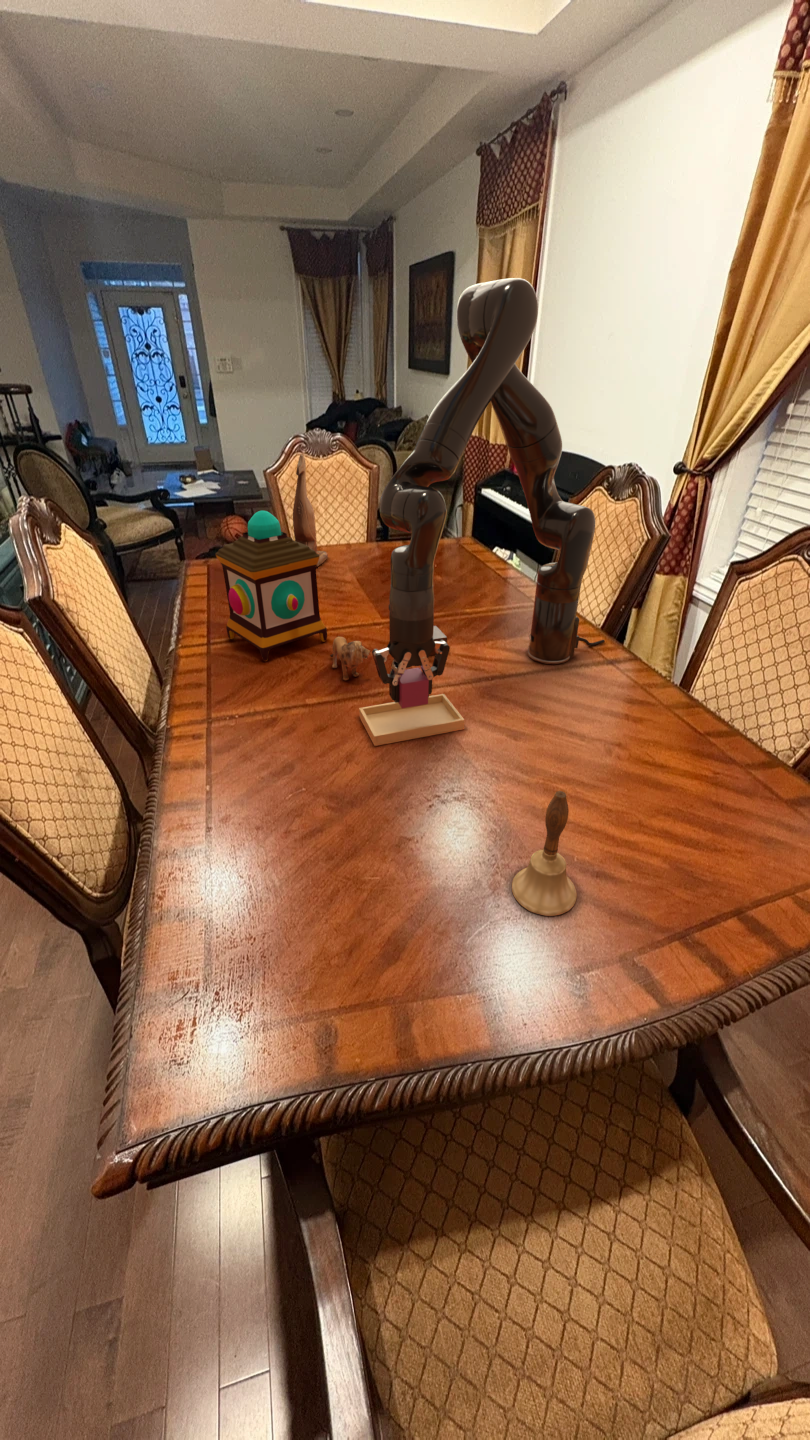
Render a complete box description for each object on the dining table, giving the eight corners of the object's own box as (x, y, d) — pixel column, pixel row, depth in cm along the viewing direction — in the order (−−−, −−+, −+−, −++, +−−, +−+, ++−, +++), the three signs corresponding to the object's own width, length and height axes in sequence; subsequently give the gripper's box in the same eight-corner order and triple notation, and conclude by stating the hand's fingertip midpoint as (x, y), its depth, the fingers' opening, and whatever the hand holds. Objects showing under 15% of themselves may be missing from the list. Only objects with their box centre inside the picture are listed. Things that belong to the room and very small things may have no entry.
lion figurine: (373, 681, 127) (372, 642, 123) (351, 688, 125) (349, 648, 120) (340, 655, 138) (338, 618, 133) (319, 661, 135) (316, 623, 130)
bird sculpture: (284, 566, 191) (272, 457, 174) (295, 555, 201) (286, 451, 184) (318, 568, 190) (310, 458, 173) (328, 557, 199) (321, 452, 182)
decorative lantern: (261, 667, 133) (242, 528, 117) (219, 638, 145) (196, 509, 129) (336, 641, 144) (327, 511, 128) (291, 617, 157) (278, 495, 141)
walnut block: (435, 641, 144) (436, 625, 142) (446, 653, 139) (447, 637, 137) (407, 645, 142) (407, 629, 140) (417, 657, 137) (418, 641, 135)
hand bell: (505, 869, 82) (516, 775, 74) (564, 865, 83) (583, 772, 74) (520, 918, 75) (535, 821, 67) (585, 914, 76) (608, 817, 67)
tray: (443, 702, 120) (443, 693, 119) (464, 729, 112) (464, 719, 111) (359, 717, 115) (359, 707, 114) (374, 746, 107) (374, 736, 106)
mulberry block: (418, 691, 114) (419, 667, 111) (428, 704, 110) (428, 679, 107) (393, 695, 112) (393, 671, 110) (401, 708, 108) (401, 684, 106)
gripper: (376, 624, 97) (378, 715, 106) (459, 613, 101) (455, 701, 110) (364, 607, 103) (367, 694, 112) (443, 597, 107) (439, 683, 116)
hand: (410, 697), depth 111 cm, fingers closed on mulberry block, 5 cm apart
